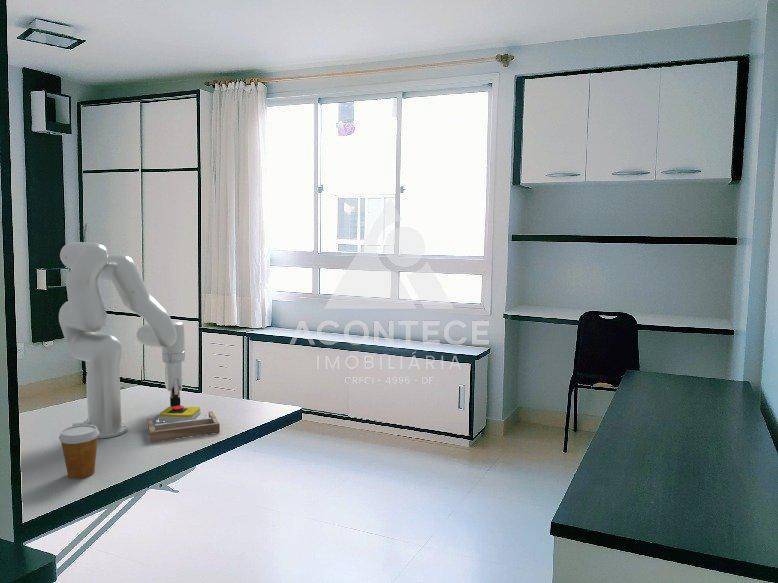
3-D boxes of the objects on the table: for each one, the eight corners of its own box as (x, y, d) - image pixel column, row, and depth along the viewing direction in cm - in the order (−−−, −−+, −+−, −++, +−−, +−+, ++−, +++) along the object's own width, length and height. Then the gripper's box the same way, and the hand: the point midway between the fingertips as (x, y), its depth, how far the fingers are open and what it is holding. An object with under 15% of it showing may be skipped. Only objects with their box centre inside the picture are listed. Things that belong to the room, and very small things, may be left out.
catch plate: (154, 433, 193) (154, 424, 192) (210, 426, 200) (210, 417, 199) (155, 434, 191) (154, 425, 191) (211, 427, 199) (211, 418, 198)
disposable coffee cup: (73, 466, 167) (71, 423, 166) (107, 467, 167) (105, 424, 165) (53, 481, 158) (50, 435, 156) (89, 481, 157) (87, 436, 156)
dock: (147, 428, 199) (147, 419, 198) (212, 419, 207) (212, 411, 207) (150, 442, 186) (150, 432, 186) (219, 432, 194) (219, 423, 194)
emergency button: (164, 402, 213) (207, 403, 213) (165, 415, 214) (207, 415, 213) (153, 410, 204) (197, 411, 203) (153, 423, 205) (197, 424, 204)
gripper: (160, 353, 220) (162, 403, 222) (164, 362, 207) (166, 415, 209) (182, 351, 223) (183, 401, 225) (187, 360, 210) (189, 412, 212)
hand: (175, 407), depth 217 cm, fingers closed
